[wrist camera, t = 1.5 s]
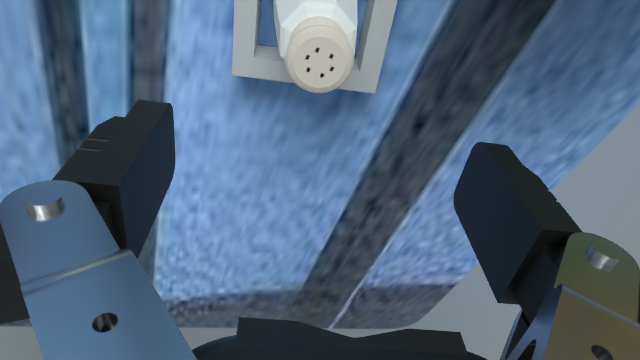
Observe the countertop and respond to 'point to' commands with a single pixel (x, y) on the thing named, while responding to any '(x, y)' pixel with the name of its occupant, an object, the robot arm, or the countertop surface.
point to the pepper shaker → (316, 41)
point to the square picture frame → (272, 67)
